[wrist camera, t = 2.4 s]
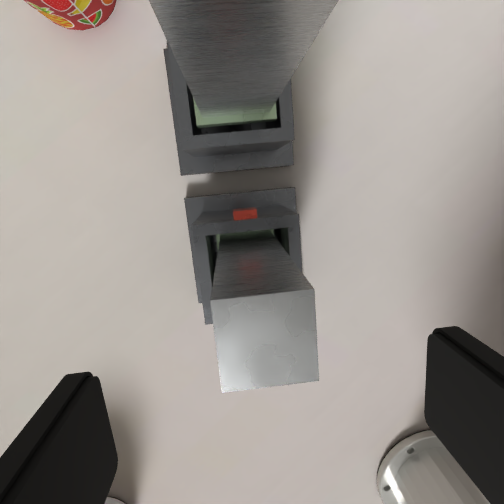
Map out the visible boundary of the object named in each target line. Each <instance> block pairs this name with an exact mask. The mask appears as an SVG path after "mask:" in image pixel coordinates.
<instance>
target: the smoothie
mask: <svg viewBox="0 0 504 504" xmlns="http://www.w3.org/2000/svg"><path fill="white" fill-rule="evenodd" d="M24 1H25V2H26V3H28V4H29V5H31V6H32V7H33V8H35V9H36V10H37V11H39V12H40V13H41V14H43V15H44V16H46V17H47V18H48V19H50V20H51V21H52V22H54V23H55V24H58V25H60V26H62V27H65V28H67V29H74V30H85V29H90V28H94V27H97V26H99V25H101V24H102V23H103V22H105V21H106V20H107V19H108V18H109V16H110V15H111V13H112V12H113V10H114V7H115V3H116V0H24Z"/></svg>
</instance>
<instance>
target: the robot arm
mask: <svg viewBox="0 0 504 504" xmlns="http://www.w3.org/2000/svg"><path fill="white" fill-rule="evenodd" d="M424 414H425V419H426V422H427V424H428V426H429V427H430V429H431V430H429V431H423V432H420V433H416V434H414V435H412V436H410V437H407V438H405V439H404V440H402V441H401V442H399V443H398V444H397V445H396V446H395V447H394V448H392V449H391V450H390V451H389V453H388V454H387V455H386V457H385V458H384V460H383V462H382V464H381V465H380V468H379V471H378V475H377V488H378V492H379V495H380V497H381V499H382V502H383V503H384V504H504V357H503V356H502V355H500V354H499V353H497V352H496V351H494V350H493V349H491V348H490V347H488V346H487V345H485V344H484V343H482V342H481V341H479V340H478V339H476V338H475V337H473V336H472V335H470V334H469V333H467V332H466V331H464V330H463V329H461V328H459V327H457V326H452V327H444V328H436V329H435V330H434V331H433V333H432V334H430V335H429V337H428V343H427V366H426V388H425V410H424ZM117 464H118V457H117V452H116V448H115V443H114V439H113V435H112V430H111V426H110V422H109V418H108V413H107V409H106V405H105V401H104V396H103V392H102V388H101V384H100V380H99V378H98V377H97V376H94V377H93V375H92V374H91V372H82V373H74V374H68V375H66V376H64V377H63V379H62V380H61V381H60V383H59V384H58V385H57V386H56V388H55V389H54V390H53V391H52V393H51V394H50V395H49V397H48V398H47V399H46V400H45V402H44V403H43V404H42V405H41V407H40V408H39V409H38V410H37V412H36V413H35V414H34V416H33V417H32V418H31V419H30V421H29V422H28V423H27V424H26V426H25V427H24V428H23V430H22V431H21V432H20V433H19V435H18V436H17V437H16V438H15V440H14V441H13V442H12V443H11V445H10V446H9V447H8V449H7V450H6V451H5V452H4V454H3V455H2V456H1V457H0V504H105V501H106V498H107V495H108V493H109V490H110V487H111V484H112V482H113V479H114V476H115V474H116V470H117Z"/></svg>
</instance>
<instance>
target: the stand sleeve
mask: <svg viewBox="0 0 504 504" xmlns="http://www.w3.org/2000/svg"><path fill="white" fill-rule="evenodd" d="M184 200H185V208H186V215H187V222H188V229H189V236H190V244H191V251H192V258H193V265H194V273H195V280H196V287H197V294H198V302H199V303H203V310H204V317H205V325H206V324H213V319H212V311H211V304H210V298H211V292H212V286H213V279H214V273H215V267H216V260H217V254H218V248H217V240H216V235H217V234H226V233H236V232H246V231H256V230H265V229H274V236H275V238H276V239H277V240H278V242H279V243H280V244H281V246H282V247H283V248H284V250H285V251H286V252H287V254H288V255H289V256H290V258H291V259H292V260H293V261H294V263H295V264H296V265H297V267H298V268H299V269H300V271H301V272H302V258H301V242H300V225H299V214H297V212H296V195H295V188H294V187H291V188H281V189H270V190H260V191H250V192H239V193H229V194H219V195H208V196H198V197H188V198H184Z"/></svg>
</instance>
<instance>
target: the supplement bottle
mask: <svg viewBox="0 0 504 504" xmlns="http://www.w3.org/2000/svg"><path fill="white" fill-rule="evenodd" d="M105 504H125V503H123V502H122V501H120V500H118V499H115V498H111V497H107V498H106V501H105Z"/></svg>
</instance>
